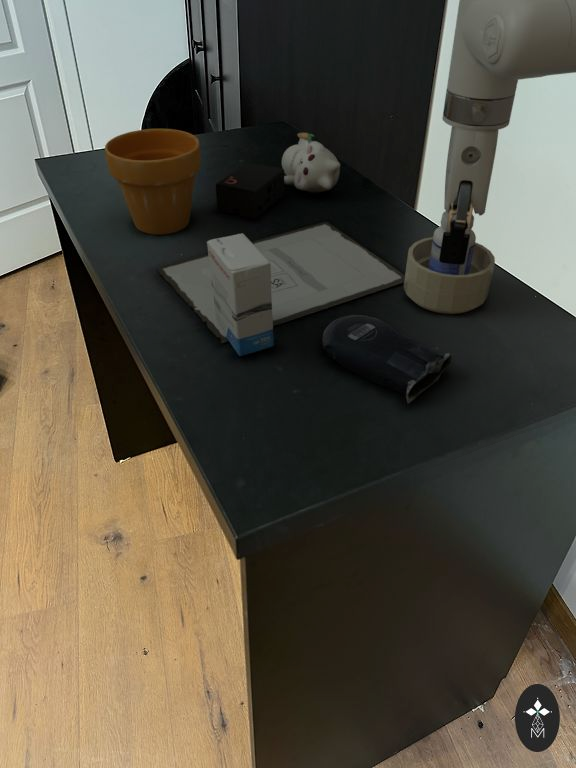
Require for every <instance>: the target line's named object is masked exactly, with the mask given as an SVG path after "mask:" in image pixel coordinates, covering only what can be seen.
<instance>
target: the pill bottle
mask: <svg viewBox="0 0 576 768" xmlns="http://www.w3.org/2000/svg"><path fill="white" fill-rule="evenodd" d="M448 215H449V212H447V211H446V210H445V211H443V213H442V214H441V219H440V226H438V227H436V229H435V230H434V232H433V236H432V237H433V242H432V249H431V256H430V262H429V268H428V269H430V270H432V271H436V272H439V273H443V274H451V275H468V274H469V272H470V267H471V262H472V257H473V251H474V246H475V242H476V240H477V236H476V233H475V232H474V230H473V227H474V222H475V216H474V214H472V217H471V223H470V229H469V234H470V238H469V243H468V249H467V254H466V259H465V263H464V264H463V265H459V264H450V263H441V262H440V261H439V257H440V251H441V245H442V239H443V233H444V232H446V228H447V221H448ZM455 217H456V215H453V218H452V221H453V220H455Z"/></svg>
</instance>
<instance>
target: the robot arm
mask: <svg viewBox="0 0 576 768" xmlns="http://www.w3.org/2000/svg"><path fill="white" fill-rule="evenodd" d="M455 21H456V22H455V28H454V36H453V41H452V50H451V56H450V64H449V71H448V78H447V85H446V90H445V97H444V98H445V99H444V105H443V110H442V111H443V112H442V113H443V114H442V117H441V118H442V121H443V122H444V123H445V124H446V125H448V126H451V131H450V135H449V137H450V138H449V144H448V151H447V159H446V166H445V167H446V169H445V178H444V200H443V201H444V203H443V206H444V208H443V209H444V210H445V211H447V212H449V215H448V221H447V228H446V232H444V233H443V239H442V245H441V251H440V257H439V261H440V262H441V263H450V264H459V265H463V264H464V263H465V259H466V254H467V249H468V243H469V238H470V234H469V229H470V223H471V217H472V215H473V213H474V214H475V215H476V214H477V215H479V216H480V217H481V216H483V215H484V214H485V213H486V208H487V202H488V197H489V190H490V186H491V185H490V184H491V180H492V175H493V169H494V163H495V157H496V152H497V147H498V139H499V131H500V130H503V129H505V128H507V127H509V125H510V121H511V116H512V111H513V107H514V101H515V98H516V91H517V87H518V83H519V81H520V80H526V79H536V78H543V77H547V76H556V75H565V74H566V75H567V74H575V73H576V0H459V2H458V8H457V14H456V20H455ZM453 215H456V217H455V220H453V221H452V218H453Z"/></svg>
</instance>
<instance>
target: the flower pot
mask: <svg viewBox="0 0 576 768" xmlns="http://www.w3.org/2000/svg"><path fill="white" fill-rule="evenodd" d="M104 153H105V158H106V163H107V168H108V171H109V175H110V176H112V178H114V179H115V180H116V181H117V183H118V186H119V188H120V190H121V193H122V196H123V199H124V201H125V204H126V206H127V209H128V211H129V214H130V216H131V219H132V221H133V224H134V227H135V228H136V229H137V230H139V232H142V233H145V234H148V235H156V236H157V235H169V234H174V233H177V232H180V231H182V230H184V229H185V228H186V227H187V226H188V225H189V223H190V218H191V212H192V206H193V205H192V204H193V195H194V187H195V178H196V175H197V173H198V172H199V171H200V169H201V166H202V165H201V161H202V159H201V144H200V140H199V138H198V137H197V136H196V135H194V134H193V133H190V132H187V131H185V130H180V129H174V128H173V129H172V128H146V129H138V130H133V131H129V132H125V133H122V134H119V135H117V136H114V137H113V138H111V139H110V140H109V141H107V142H106V144H105V145H104Z"/></svg>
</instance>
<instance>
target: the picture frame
mask: <svg viewBox="0 0 576 768" xmlns="http://www.w3.org/2000/svg"><path fill="white" fill-rule="evenodd" d="M250 242H251V243H252V244H253V245H254V246H255V247H256V248H257V249H258V250H259V251H260V252H261V253H262V254H263V256H264V257H265V258H266V259H267V260H268V261H269V262H270V269H271V293H272V294H271V295H272V318H273V327H274V326H277V325H281V324H283V323H286V322H290V321H292V320H295V319H298V318H302V317H304V316H306V315H310V314H313V313H316V312H319V311H322V310H325V309H328V308H331V307H335V306H336V305H341V304H343V303H346V302H349V301H352V300H354V299H358V298H361V297H365V296H368V295H369V294H373V293H376V292H379V291H382V290H385V289H387V288H391V287H394V286H397V285H400V284H402V283H403V284H404V281H405V274H404V273H402V272H401V271H400V270H398V269H396V268H395V267H394V266H392V265H391V264H389V263H388V262H386V261H385V260H384V259H382V258H380V257H379V256H377V255H376V254H375V253H374V252H372V251H370V250H369V249H368V248H366V247H365V246H362V245H361V244H360V243H358V242H357V241H356V240H354V239H353V238H351V237H350V236H349V235H347V234H346V233H344V232H342V231H341V230H339V229H338V228H337V227H336V226H335V225H332V224H331V223H330V222H328V221H323V222H320V223H316V224H312V225H309V226H304V227H300V228H298V229H293V230H290V231H287V232H282V233H280V234H274V235H272V236H269V237H265V238H261V239H257V240H253V241H250ZM155 269H156V271H157V272H158V274H159V275H160V276H162V278H163V279H164V280H165V281H166V283H168V284H170V286H171V287H172V288H173V289H174V291H175V293H176V294H177V295H179V296H180V298H182V299H183V300H184V301H185V303H186V304H188V307H190V308H191V309H193V310H194V311H193V312H194V314H197V315H198V317H199V318H200V319H201V321H202V322H203V323H206V326H207V328H208V330H210V332H212V333H213V335H214V336H215V337H216V338H219V339H220V344H223V343H226V342H229V340H228V339H227V337H226V336H225V334H224V333H223V331H222V330H221V329H220V327H219V326H218V324H217V323H216V316H215V307H214V299H213V289H212V280H211V271H210V263H209V255H208V253H205V254H201V255H198V256H194V257H191V258H187V259H183V260H180V261H176V262H171V263H168V264H165V265H161V266H157V267H155Z"/></svg>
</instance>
